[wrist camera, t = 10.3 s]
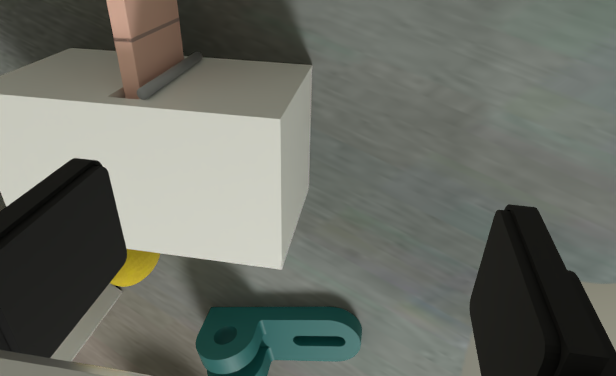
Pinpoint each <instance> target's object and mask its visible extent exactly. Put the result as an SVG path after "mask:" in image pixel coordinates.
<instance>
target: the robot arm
mask: <svg viewBox="0 0 616 376" xmlns="http://www.w3.org/2000/svg"><path fill="white" fill-rule="evenodd" d="M126 259H127V249H126V244H125V240H124V236H123V232H122V228H121V223H120V219H119V215H118V211H117V206H116V202H115V198H114V194H113V190H112V185H111V181H110V177H109V173H108V170H107V169H106V168H105V167H103V166H102V164H101V163H100V162H99V161H97V160H89V159H80V158H73V159H71V160H70V161H68V162H67V163H65V164H64V165H63V166H61V167H60V168H59V169H57V170H56V171H55V172H53V173H52V174H50V175H49V176H48V177H46V178H45V179H44V180H42V181H41V182H40V183H38V184H37V185H35V186H34V187H33V188H31V189H30V190H29V191H27V192H26V193H25V194H23V195H22V196H20V197H19V198H18V199H16V200H15V201H14V202H12V203H11V204H10V205H8V206H7V207H5V208H4V209H3V210H1V211H0V376H152V375H146V374H140V373H135V372H129V371H123V370H117V369H111V368H106V367H100V366H94V365H88V364H82V363H76V362H70V361H64V360H58V359H52V358H51V356H52V355H53V354H54V353H55V351H56V350H57V349H58V348H59V346H60V345H61V344H62V342H63V341H64V340H65V339H66V337H67V336H68V335H69V334H70V332H71V331H72V330H73V329H74V327H75V326H76V325H77V324H78V322H79V321H80V320H81V319H82V317H83V316H84V315H85V314H86V312H87V311H88V310H89V308H90V307H91V306H92V305H93V303H94V302H95V301H96V300H97V298H98V297H99V296H100V295H101V293H102V292H103V291H104V290H105V288H106V287H107V286H108V285H109V283H110V282H111V281H112V279H113V278H114V277H115V276H116V274H117V273H118V272H119V271H120V269H121V268H122V267H123V266H124V264H125V262H126ZM470 316H471V322H472V327H473V333H474V338H475V344H476V349H477V354H478V360H479V365H480V371H481V376H616V351H615V349H614V347H613V346H612V344H611V341H610V339H609V337H608V335H607V333H606V331H605V329H604V328H603V326H602V324H601V322H600V320H599V318H598V316H597V314H596V312H595V310H594V308H593V306H592V304H591V302H590V300H589V298H588V296H587V294H586V292H585V290H584V288H583V286H582V284H581V282H580V280H579V278H578V277H577V275H576V274H575V273H574V272H572V271H568V270H567V269H566V267H565V265H564V263H563V261H562V259H561V257H560V255H559V253H558V251H557V249H556V246H555V244H554V242H553V240H552V238H551V236H550V234H549V232H548V230H547V228H546V226H545V224H544V222H543V219H542V217H541V215H540V213H539V211H538V210H537V208H535V207H527V206H518V205H507V206H506V208H505V210H497V211H496V213H495V216H494V219H493V223H492V226H491V230H490V233H489V236H488V240H487V243H486V247H485V250H484V254H483V257H482V261H481V264H480V268H479V271H478V275H477V278H476V281H475V285H474V288H473V292H472V295H471V299H470Z"/></svg>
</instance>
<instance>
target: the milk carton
mask: <svg viewBox="0 0 616 376" xmlns="http://www.w3.org/2000/svg"><path fill="white" fill-rule="evenodd" d="M121 294H122V291H121V290H119V289H118V288H117V287H115V286H114V285H113V284H111V283H109V285H108V286H107V287H106V288H105V290H104V291H103V292H102V293H101V295H100V296H99V297H98V298H97V300H96V301H95V302H94V303H93V305H92V306H91V307H90V308H89V310H88V311H87V312H86V314H85V315H84V316H83V317H82V319H81V320H80V321H79V322H78V324H77V325H76V326H75V327H74V329H73V330H72V331H71V332H70V334H69V335H68V336H67V337H66V339H65V340H64V341H63V342H62V344H61V345H60V346H59V348H58V349H57V350H56V351H55V353H54V354H53V355H52V356H51V358H52V359H58V360H64V361H70V362H71V361H72V360H73V359H74V357H75V356H76V355H77V353H78V352H79V351H80V349H81V348H82V346H83V345H84V344H85V342H86V341H87V340H88V338H89V337H90V336H91V334H92V333H93V332H94V330H95V329H96V327H97V326H98V325H99V323H100V322H101V321H102V319H103V318H104V317H105V315H106V314H107V313H108V311H109V310H110V308H111V307H112V306H113V304H114V303H115V302H116V300H117V299H118V298H119V296H120V295H121Z"/></svg>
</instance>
